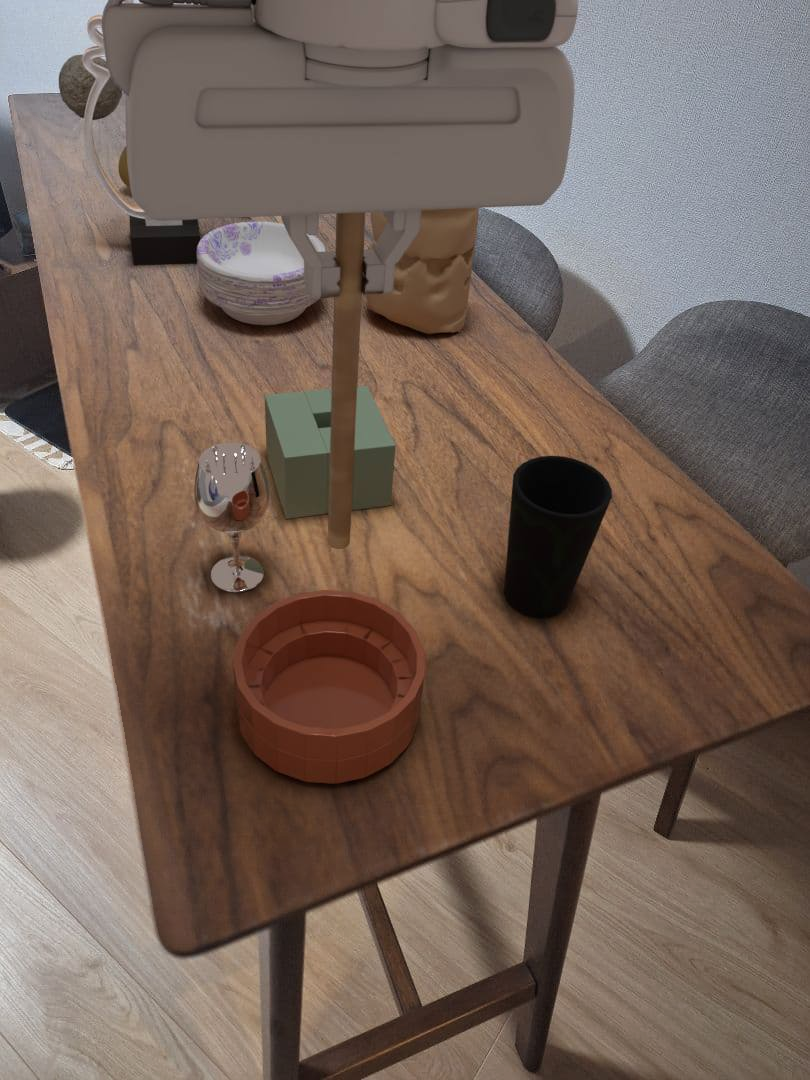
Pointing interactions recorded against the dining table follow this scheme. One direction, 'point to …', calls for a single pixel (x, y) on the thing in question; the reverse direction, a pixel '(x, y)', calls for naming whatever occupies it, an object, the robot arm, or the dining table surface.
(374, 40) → the robot arm
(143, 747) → the dining table surface
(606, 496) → the cup
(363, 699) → the orange round piece
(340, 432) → the stirring stick
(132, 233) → the lamp
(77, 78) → the decorative stone
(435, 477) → the dining table surface
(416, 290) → the container
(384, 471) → the stick stand
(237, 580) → the wineglass
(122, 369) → the dining table surface
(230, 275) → the paper bowls
